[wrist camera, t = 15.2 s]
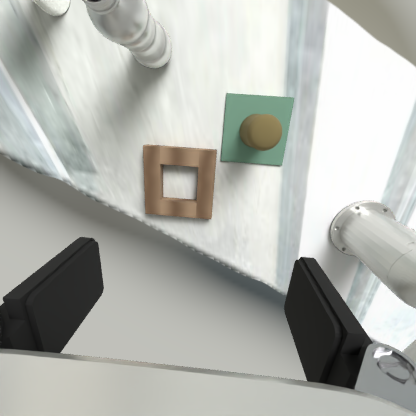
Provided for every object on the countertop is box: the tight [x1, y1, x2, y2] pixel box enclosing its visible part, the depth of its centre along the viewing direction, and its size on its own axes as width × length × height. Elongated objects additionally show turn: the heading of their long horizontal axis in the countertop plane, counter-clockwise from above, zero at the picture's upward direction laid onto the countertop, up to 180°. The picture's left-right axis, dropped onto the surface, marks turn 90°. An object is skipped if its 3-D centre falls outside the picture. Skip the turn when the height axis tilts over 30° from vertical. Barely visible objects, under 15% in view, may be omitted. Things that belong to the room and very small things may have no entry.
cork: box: [239, 114, 282, 151], centre depth 37 cm, size 6×6×11 cm
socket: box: [143, 145, 217, 219], centre depth 45 cm, size 14×14×2 cm
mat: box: [221, 93, 294, 165], centre depth 42 cm, size 12×12×1 cm
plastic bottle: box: [83, 0, 172, 68], centre depth 29 cm, size 6×7×20 cm
